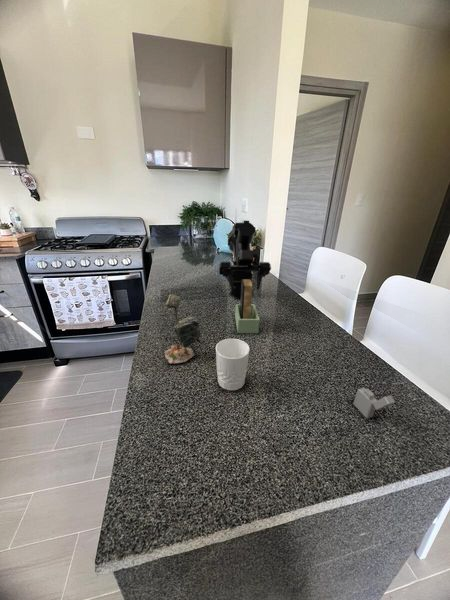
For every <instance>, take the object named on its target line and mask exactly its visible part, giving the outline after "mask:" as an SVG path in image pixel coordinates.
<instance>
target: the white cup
mask: <svg viewBox="0 0 450 600" xmlns="http://www.w3.org/2000/svg"><path fill="white" fill-rule="evenodd" d="M249 357H250V345H249V344H248V343H247V342H246V341H244V340H242V339H238V338H225V339H222V340H219V341H218V343H216V345H215V364H216V374H217V383H218V385H219V387H221V388H222V389H223V390H227V391H237V390H240V389H242V388H243V386H244V385H245V383H246V376H247V372H248V365H249Z"/></svg>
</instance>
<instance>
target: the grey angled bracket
mask: <svg viewBox="0 0 450 600" xmlns="http://www.w3.org/2000/svg"><path fill="white" fill-rule="evenodd" d="M354 397H355V398H354V400H353V403H352V404H353V405H354V407H356V409H357V410H358V411H359V412H360V413H361V414H362V415H363V417H365V419H370V418H374V415H375V412H376V411H378V410H383V409H385V408H387V407H389V406H391V405H393V404H395V403H396V401H395V399H394V398H393V396H392V395H391V394H390V395H386V396H383V397H382V398H379V399H378V400H377V398H376V397H375V393H373V391H372V390H370V388H365V387H361V388H358V389H357V392H356V395H355V396H354Z"/></svg>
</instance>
